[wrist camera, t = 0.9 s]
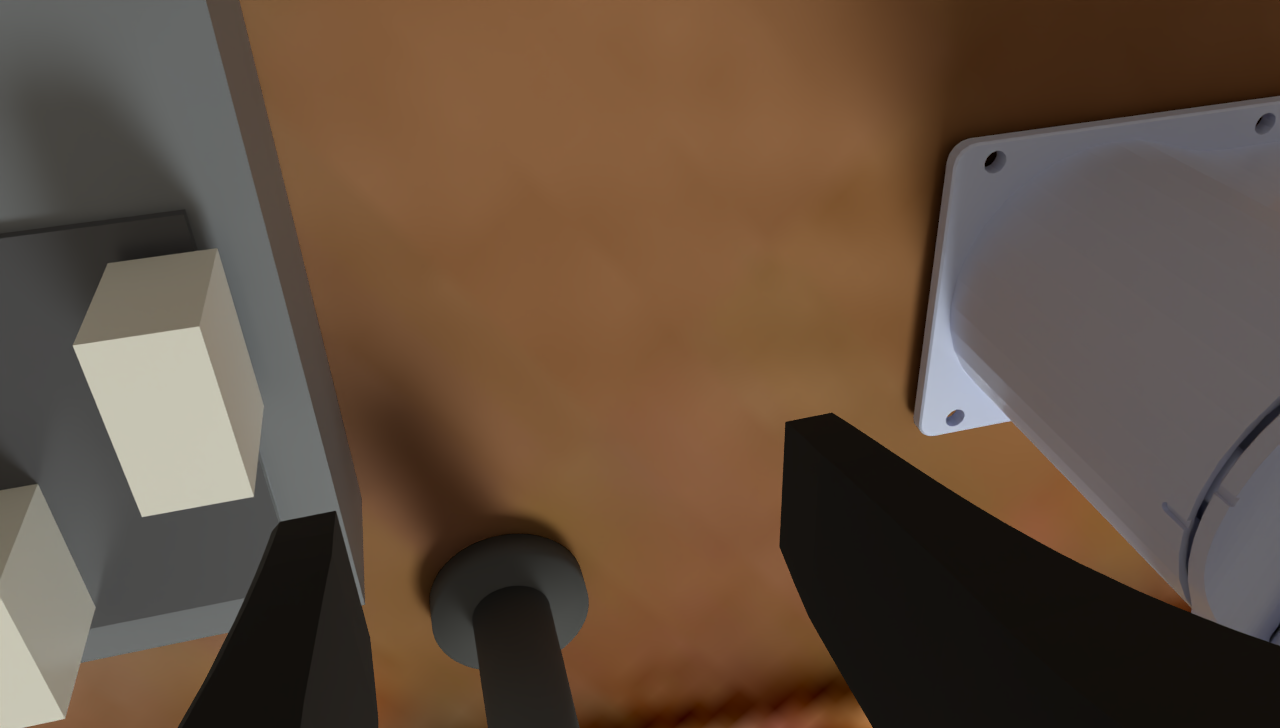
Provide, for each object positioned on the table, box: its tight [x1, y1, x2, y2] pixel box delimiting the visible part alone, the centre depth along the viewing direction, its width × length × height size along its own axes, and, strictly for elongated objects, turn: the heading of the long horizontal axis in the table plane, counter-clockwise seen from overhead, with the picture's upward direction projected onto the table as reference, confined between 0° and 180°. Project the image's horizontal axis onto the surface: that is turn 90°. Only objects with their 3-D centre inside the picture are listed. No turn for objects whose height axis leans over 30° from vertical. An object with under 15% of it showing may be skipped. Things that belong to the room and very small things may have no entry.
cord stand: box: [430, 534, 589, 728], centre depth 24 cm, size 4×4×7 cm
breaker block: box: [0, 0, 365, 728], centre depth 17 cm, size 7×14×6 cm, turn 2°
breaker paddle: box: [73, 248, 264, 517], centre depth 15 cm, size 2×3×2 cm, turn 2°
